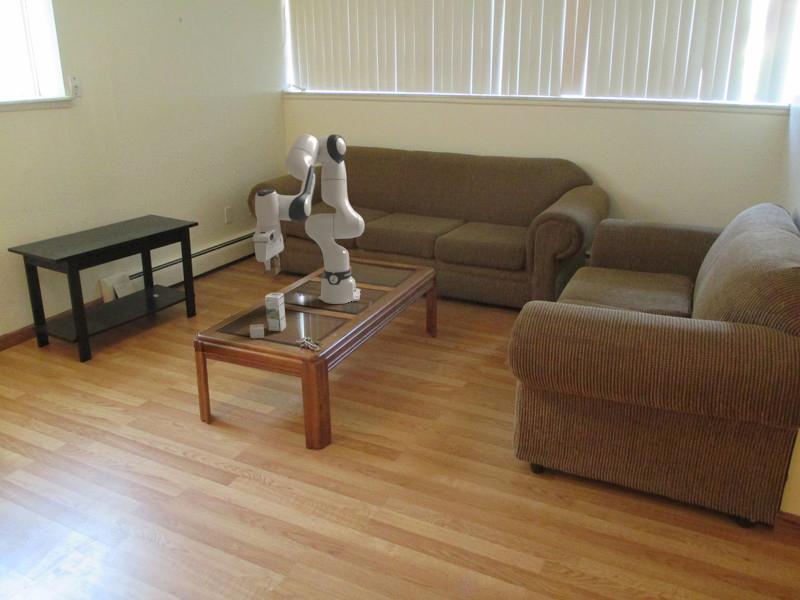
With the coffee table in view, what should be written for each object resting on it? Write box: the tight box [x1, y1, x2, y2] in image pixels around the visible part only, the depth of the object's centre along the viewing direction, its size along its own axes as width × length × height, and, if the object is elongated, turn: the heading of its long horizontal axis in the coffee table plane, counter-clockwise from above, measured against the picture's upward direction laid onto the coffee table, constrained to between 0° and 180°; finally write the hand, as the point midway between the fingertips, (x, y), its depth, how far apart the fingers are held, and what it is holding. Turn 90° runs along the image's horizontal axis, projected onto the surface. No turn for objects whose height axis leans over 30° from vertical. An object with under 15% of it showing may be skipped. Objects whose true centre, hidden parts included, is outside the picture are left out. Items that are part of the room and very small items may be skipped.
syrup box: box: [264, 292, 287, 333], centre depth 270 cm, size 6×6×14 cm
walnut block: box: [262, 255, 282, 276], centre depth 264 cm, size 5×5×6 cm
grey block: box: [249, 323, 265, 339], centre depth 265 cm, size 5×5×4 cm
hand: (271, 267), depth 264 cm, fingers closed on walnut block, 5 cm apart
